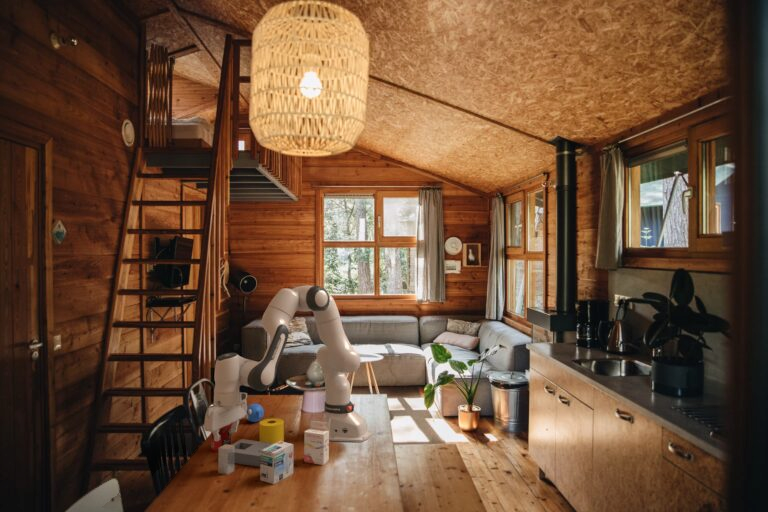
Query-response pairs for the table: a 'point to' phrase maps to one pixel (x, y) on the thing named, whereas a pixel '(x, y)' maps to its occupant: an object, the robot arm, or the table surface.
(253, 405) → the blue mole toy
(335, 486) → the table surface
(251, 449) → the socket block
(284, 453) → the light bulb box
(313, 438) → the ink cartridge box
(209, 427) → the robot arm
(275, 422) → the tape roll
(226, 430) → the canned food
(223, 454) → the square peg
